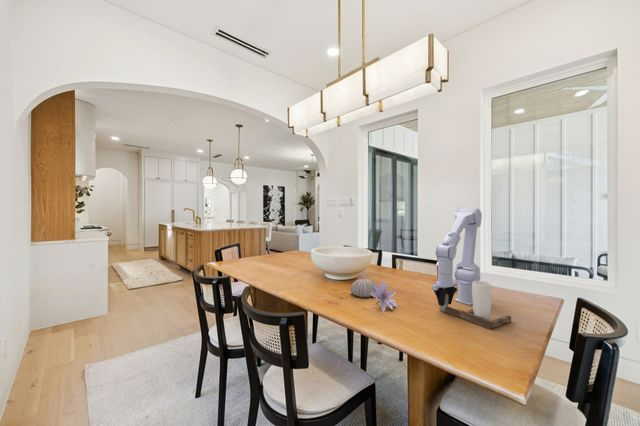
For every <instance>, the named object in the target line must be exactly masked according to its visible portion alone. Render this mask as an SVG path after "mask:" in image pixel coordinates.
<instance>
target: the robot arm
mask: <svg viewBox="0 0 640 426" xmlns="http://www.w3.org/2000/svg"><path fill="white" fill-rule="evenodd" d="M482 214H483V213H482V212H481V209H480V208H477V207H475V208H461V207H460V208H459V207H458V208H457V209H456V210H455V212H454V223H453V226H452V229H451V230H450V231H448V232H446V235H445V237H444V239H443V241H442V243H441V244H439V245H437V246H436V249H435V251H434V252H435V256H436V261H437V262H438V281H437V280H436V281H435V283H433V284H431V290H432V291H433V292H434V294H435V296H436V300H437V303H438V305H439V307H440V306H444V302H445V296H446V294H448V305H452V302H453V300H454V301H456V302H459V303H462V304H465V305H469V306H471V305H472V306H473V299H472V282H473V281H481V273H480V271H481V269H480V267H479V266H478V265H477V264H476V263H475V262H474V261H475V252H476V244H477V233H478V228H480V227H481V225H482V219H483V218H482V217H483V215H482ZM463 229H464V237H463V247H462V255H461V256H462V257H461V261H459V262H458V263H456V265H455V269H454V267H453V266H454V259H455V258H456V255H457V251H458V249H457V248H458V247H457V246H458V244H459V242H460V241H461V233H462V232H463ZM453 270H454V271H453ZM454 279H455V280H454ZM443 288H444V289H443ZM456 293H457V298H454V296H455V294H456Z"/></svg>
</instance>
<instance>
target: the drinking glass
mask: <svg viewBox="0 0 640 426" xmlns="http://www.w3.org/2000/svg"><path fill="white" fill-rule="evenodd" d="M472 299H473V304H472V310H473V313H474V315H476V316H479V317H481V318H484V319H487V320H490V321H491V319H490V316H491V310H492V309H491V306H492V299H493V284H492V283H491V282H488V281H484V280H483V281H482V280H480V281H473V282H472Z"/></svg>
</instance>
